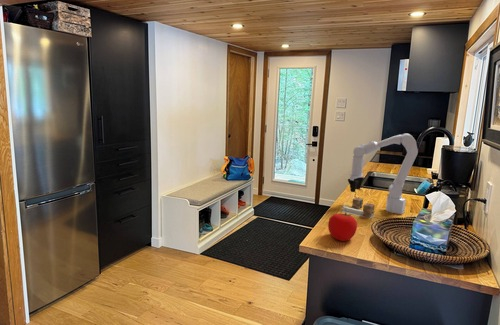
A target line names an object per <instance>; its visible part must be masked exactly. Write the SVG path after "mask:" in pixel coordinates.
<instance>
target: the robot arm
mask: <svg viewBox="0 0 500 325" xmlns="http://www.w3.org/2000/svg"><path fill="white" fill-rule="evenodd" d="M394 144H396V145H401V144H402V146H403V147H404V148H405V151H406V155H405V157H404V159H403V161H402V163H401V165H400V168H399V170H398V173H397V175H396V176H395V178H394V180H393V182H392V183H391V184H390V185H389V186H388V194H387V197H386V206H385V211H386V212H389V213H392V214H397V215H403V214H404V213H405V209H406V203H407V202H406V200H407V199H406V198H404V197H402V195H403V188H404V185H405V182H406V179H407V177H408V175H409V174H410V171H411V168H412V166H413V165H414V162H415V160H416V158H417V156H418V153H419V150H418V146H417V141H416V139H415V137H413V135H411V134H410V133H405V132H404V133H402V134H397V135H394V136H391V137H389V138H385V139H383V140H380V141H372V140H370V141H368V143H364V144H360V145H359V146H358V145H357V146H355V147H354V149H353V156H352V157H353V158H352V165H351V173H349V178H348V179H347V181H348V184H349V187H350V188H349V189H350V192H351V193H355V192H356V190H359V191H360V190H361V187H362V185H363V183H364V180H365V179H366V178H365V177H364V173H363V169H364V155H369V154H372V153H375V152H377V151H379V149H380V148H383V147H387V146H390V145H394Z"/></svg>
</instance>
